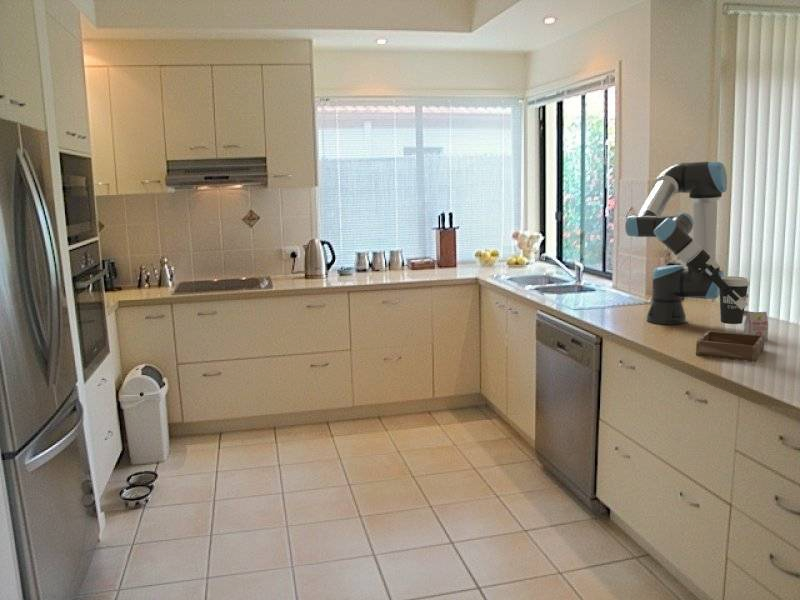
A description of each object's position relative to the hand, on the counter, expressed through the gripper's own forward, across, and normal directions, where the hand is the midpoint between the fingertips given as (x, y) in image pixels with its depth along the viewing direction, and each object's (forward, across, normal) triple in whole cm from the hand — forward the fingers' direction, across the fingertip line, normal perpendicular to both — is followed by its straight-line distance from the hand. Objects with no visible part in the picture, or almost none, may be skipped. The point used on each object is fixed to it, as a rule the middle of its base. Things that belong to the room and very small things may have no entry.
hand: (742, 304), depth 230 cm
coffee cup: (+2, 0, -7) cm, 7 cm away
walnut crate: (+10, 0, -14) cm, 17 cm away
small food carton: (+17, -24, -6) cm, 31 cm away
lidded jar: (+16, -80, -8) cm, 82 cm away
